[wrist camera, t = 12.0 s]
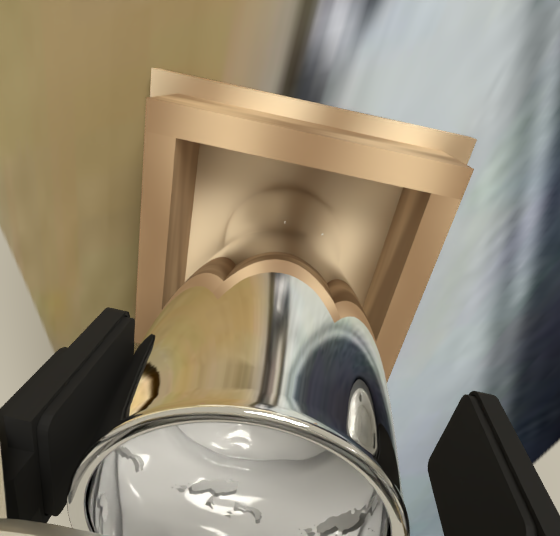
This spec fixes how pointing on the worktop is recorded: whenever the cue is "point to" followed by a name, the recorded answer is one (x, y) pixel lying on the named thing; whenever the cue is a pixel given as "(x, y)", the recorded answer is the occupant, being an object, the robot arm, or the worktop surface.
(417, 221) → the glass rest
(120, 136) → the worktop surface
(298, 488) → the beer glass
